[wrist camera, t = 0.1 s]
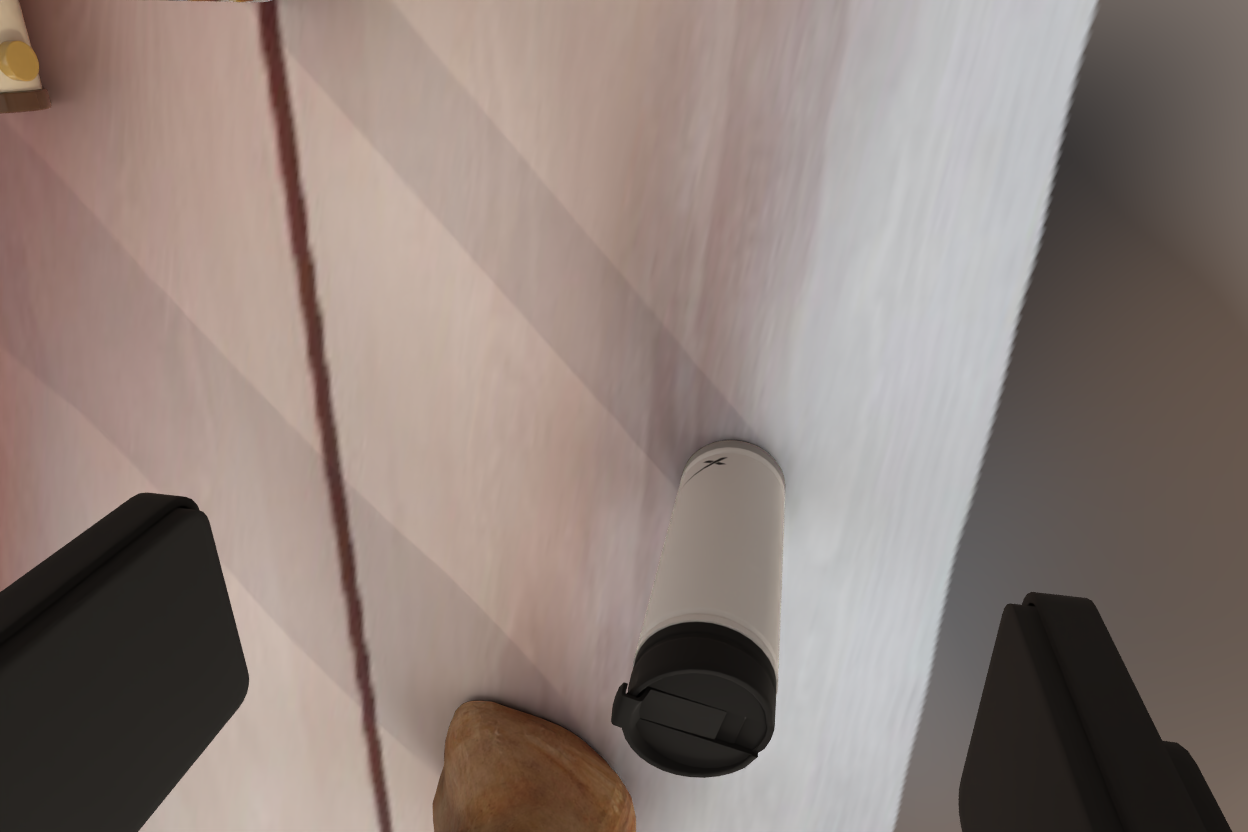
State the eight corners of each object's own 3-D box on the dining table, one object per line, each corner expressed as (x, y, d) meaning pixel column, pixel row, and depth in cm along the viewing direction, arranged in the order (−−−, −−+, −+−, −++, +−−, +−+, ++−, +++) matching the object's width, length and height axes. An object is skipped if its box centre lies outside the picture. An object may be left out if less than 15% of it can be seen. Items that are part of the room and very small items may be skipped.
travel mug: (693, 422, 49) (632, 652, 32) (800, 457, 49) (799, 709, 31) (664, 506, 52) (593, 760, 34) (765, 540, 52) (745, 813, 34)
